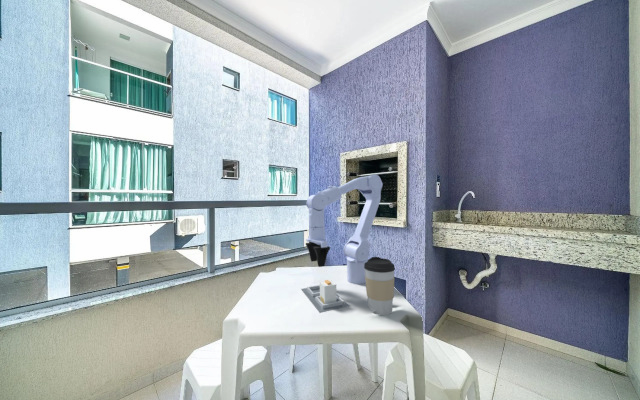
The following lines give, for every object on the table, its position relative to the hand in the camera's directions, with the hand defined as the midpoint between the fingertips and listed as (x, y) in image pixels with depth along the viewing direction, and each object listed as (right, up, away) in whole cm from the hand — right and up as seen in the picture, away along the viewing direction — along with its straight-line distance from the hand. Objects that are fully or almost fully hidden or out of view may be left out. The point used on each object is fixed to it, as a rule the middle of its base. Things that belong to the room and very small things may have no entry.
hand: (317, 263), depth 82 cm
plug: (+4, -9, -12) cm, 15 cm away
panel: (+2, -10, -7) cm, 12 cm away
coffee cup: (+19, -10, -15) cm, 26 cm away
